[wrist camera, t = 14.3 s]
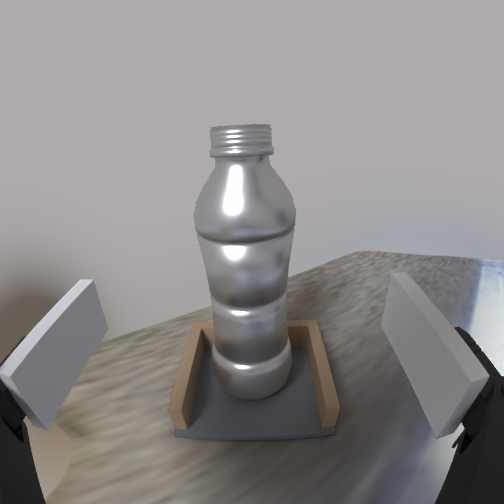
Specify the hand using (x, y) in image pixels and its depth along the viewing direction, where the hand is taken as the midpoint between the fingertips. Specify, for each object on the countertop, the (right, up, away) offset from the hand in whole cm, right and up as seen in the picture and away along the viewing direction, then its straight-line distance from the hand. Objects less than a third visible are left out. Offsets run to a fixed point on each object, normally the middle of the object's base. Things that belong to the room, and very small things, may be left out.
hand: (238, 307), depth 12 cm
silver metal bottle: (+1, -9, +12) cm, 15 cm away
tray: (+1, -9, +12) cm, 15 cm away
